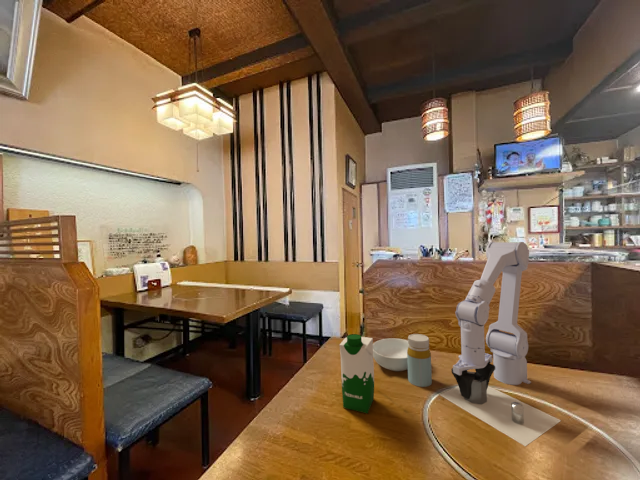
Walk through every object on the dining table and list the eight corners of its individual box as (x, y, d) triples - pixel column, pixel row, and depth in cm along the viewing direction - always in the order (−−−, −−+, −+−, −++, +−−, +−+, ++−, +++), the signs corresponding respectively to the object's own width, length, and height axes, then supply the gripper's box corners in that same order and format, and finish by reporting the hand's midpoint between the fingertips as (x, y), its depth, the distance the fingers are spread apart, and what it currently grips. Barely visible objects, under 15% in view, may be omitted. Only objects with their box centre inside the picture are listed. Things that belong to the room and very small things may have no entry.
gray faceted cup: (471, 389, 79) (470, 369, 79) (490, 399, 74) (489, 378, 74) (458, 395, 77) (458, 374, 77) (477, 406, 72) (477, 384, 72)
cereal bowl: (371, 355, 107) (370, 337, 107) (414, 356, 105) (414, 338, 105) (373, 377, 91) (373, 356, 91) (425, 379, 88) (424, 358, 88)
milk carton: (339, 409, 75) (336, 337, 75) (349, 391, 83) (347, 327, 83) (370, 416, 71) (367, 341, 71) (377, 397, 79) (375, 330, 79)
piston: (515, 416, 67) (514, 400, 67) (526, 422, 65) (525, 406, 65) (509, 419, 66) (509, 403, 66) (520, 425, 64) (520, 409, 64)
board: (474, 382, 85) (473, 379, 85) (561, 425, 65) (561, 420, 65) (439, 398, 78) (439, 394, 78) (525, 451, 58) (525, 446, 58)
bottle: (434, 391, 81) (432, 342, 81) (409, 389, 83) (408, 341, 82) (429, 379, 88) (427, 333, 88) (407, 377, 90) (405, 333, 89)
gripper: (475, 335, 82) (476, 379, 82) (442, 345, 76) (444, 393, 76) (499, 342, 76) (500, 390, 76) (466, 354, 69) (467, 407, 70)
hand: (474, 392), depth 76 cm, fingers open, 7 cm apart
